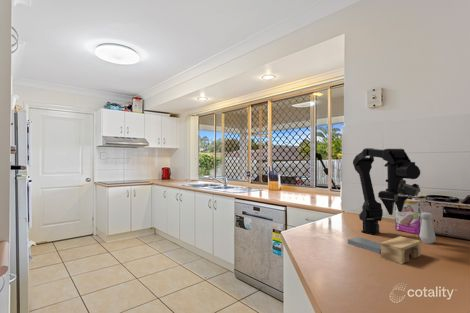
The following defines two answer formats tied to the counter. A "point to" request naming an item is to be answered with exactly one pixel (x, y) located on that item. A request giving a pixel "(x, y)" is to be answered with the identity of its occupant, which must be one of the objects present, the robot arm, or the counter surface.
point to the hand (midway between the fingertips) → (395, 213)
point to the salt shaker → (427, 229)
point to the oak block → (400, 249)
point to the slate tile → (366, 244)
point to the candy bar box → (409, 217)
